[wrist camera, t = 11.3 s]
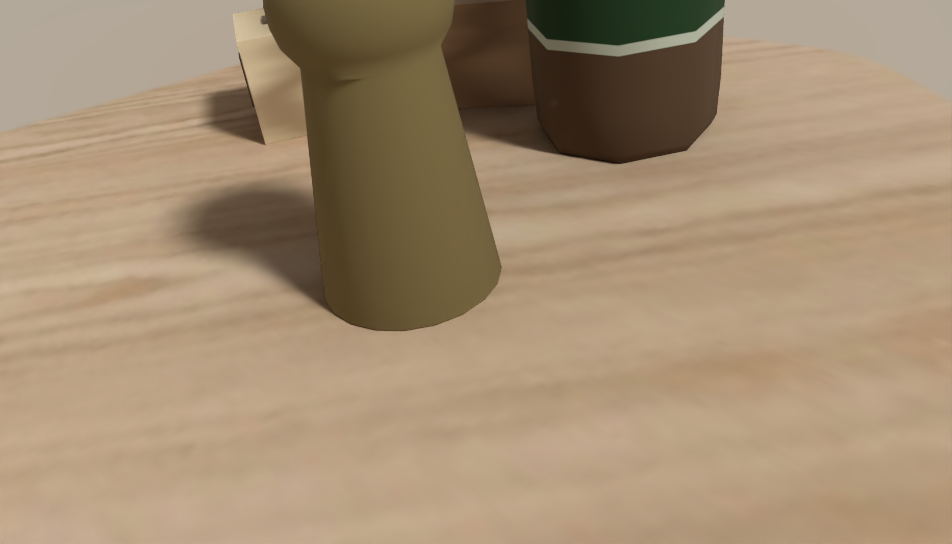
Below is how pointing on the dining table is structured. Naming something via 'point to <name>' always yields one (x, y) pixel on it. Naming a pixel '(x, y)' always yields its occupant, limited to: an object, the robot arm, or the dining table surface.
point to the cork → (388, 161)
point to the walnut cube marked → (489, 54)
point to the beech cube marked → (270, 79)
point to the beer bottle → (625, 74)
